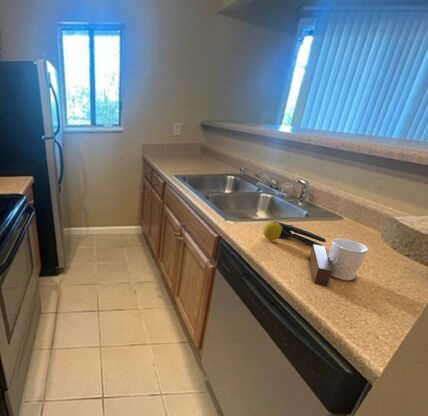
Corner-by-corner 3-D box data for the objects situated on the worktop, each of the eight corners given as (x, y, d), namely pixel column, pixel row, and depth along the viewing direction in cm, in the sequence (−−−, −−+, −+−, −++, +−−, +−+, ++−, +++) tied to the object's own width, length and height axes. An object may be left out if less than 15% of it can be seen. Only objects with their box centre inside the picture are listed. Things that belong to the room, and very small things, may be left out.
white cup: (358, 285, 77) (370, 254, 74) (323, 276, 82) (332, 246, 78) (354, 271, 83) (365, 242, 80) (322, 263, 88) (331, 236, 84)
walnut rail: (320, 259, 90) (324, 246, 88) (327, 286, 77) (332, 271, 76) (309, 257, 92) (313, 244, 90) (314, 282, 79) (318, 268, 77)
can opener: (265, 234, 107) (268, 221, 105) (273, 229, 111) (276, 217, 109) (320, 252, 94) (324, 237, 92) (326, 245, 98) (331, 231, 96)
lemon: (268, 236, 106) (272, 217, 103) (282, 242, 101) (287, 222, 98) (258, 239, 104) (262, 219, 101) (271, 245, 99) (276, 225, 96)
